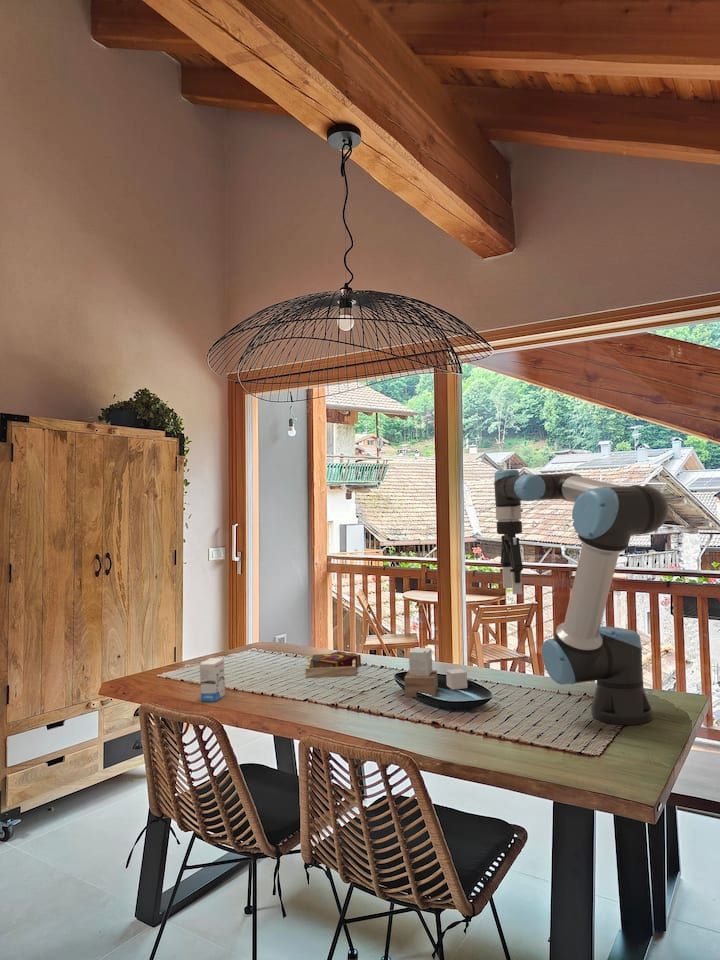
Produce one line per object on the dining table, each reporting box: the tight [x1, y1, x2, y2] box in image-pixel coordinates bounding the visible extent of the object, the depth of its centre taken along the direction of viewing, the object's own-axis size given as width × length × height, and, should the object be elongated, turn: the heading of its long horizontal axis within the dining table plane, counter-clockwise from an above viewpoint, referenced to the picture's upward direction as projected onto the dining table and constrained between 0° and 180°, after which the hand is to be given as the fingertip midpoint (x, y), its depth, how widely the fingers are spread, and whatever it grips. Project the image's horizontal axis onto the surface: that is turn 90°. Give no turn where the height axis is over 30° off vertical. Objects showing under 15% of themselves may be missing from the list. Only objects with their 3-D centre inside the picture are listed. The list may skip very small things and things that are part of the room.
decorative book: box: [311, 650, 362, 668], centre depth 249 cm, size 11×16×5 cm
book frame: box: [305, 652, 357, 679], centre depth 249 cm, size 22×17×3 cm
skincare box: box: [408, 647, 433, 676], centre depth 214 cm, size 6×6×7 cm
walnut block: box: [403, 669, 439, 698], centre depth 214 cm, size 9×9×6 cm
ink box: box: [199, 657, 226, 703], centre depth 218 cm, size 9×5×12 cm, turn 168°
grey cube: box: [445, 668, 468, 691], centre depth 219 cm, size 5×5×5 cm
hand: (512, 591), depth 209 cm, fingers open, 13 cm apart
